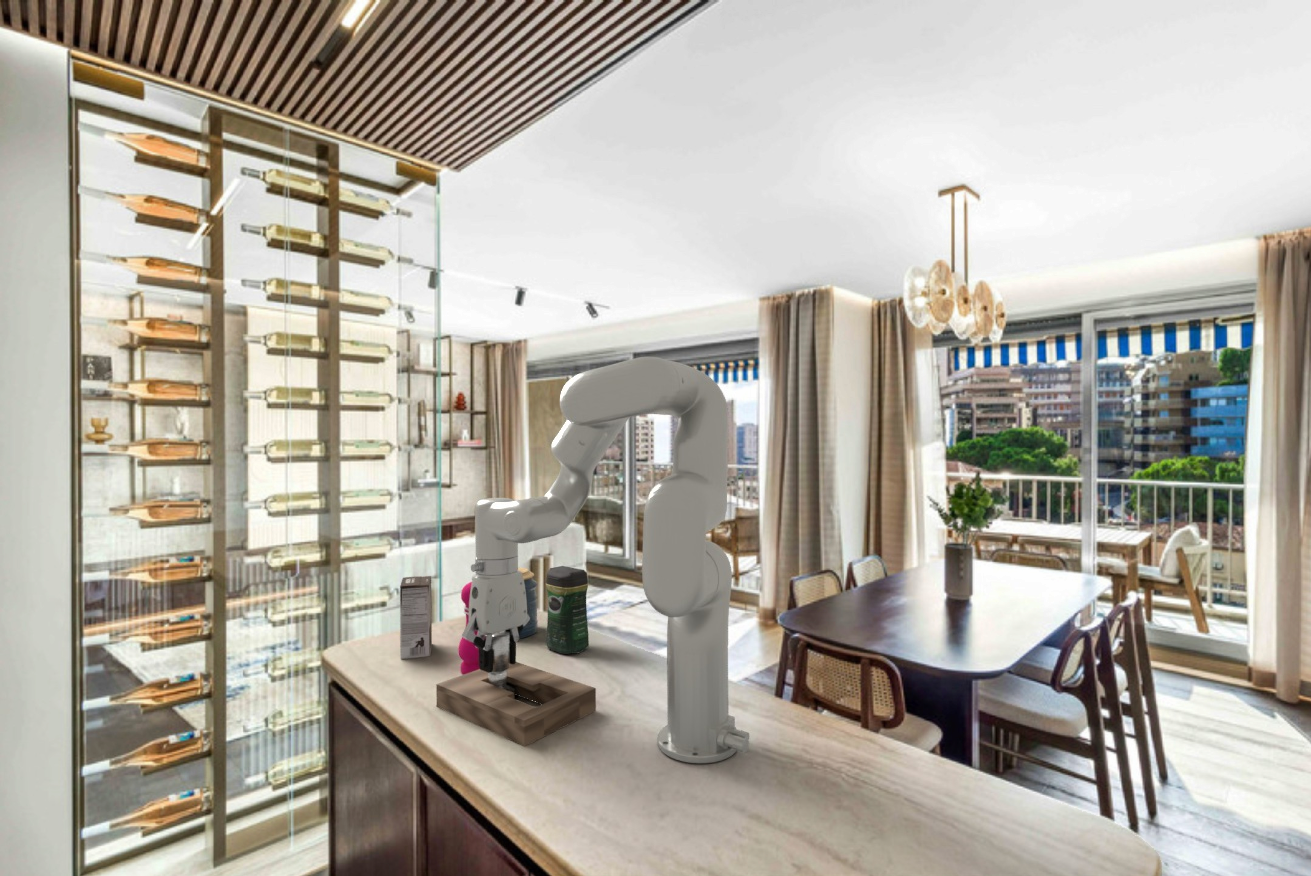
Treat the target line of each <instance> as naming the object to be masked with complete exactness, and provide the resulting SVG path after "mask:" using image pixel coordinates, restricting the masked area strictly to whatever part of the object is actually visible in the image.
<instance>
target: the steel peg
mask: <svg viewBox="0 0 1311 876" xmlns="http://www.w3.org/2000/svg"><path fill="white" fill-rule="evenodd" d="M490 649H491V650H493V671H492V672H490V673H488V678H489V684H492V685H494V686H497V687H499V688H502V689H505V690H507V691H510V692H513V693H514V699H515V700H516V697H515V696H516V695H515V688H514V686H513V685H511V684H507V669H509V668H510V633H509V632H506V631H502V632H498V633H495V634H492V640H491V646H490Z"/></svg>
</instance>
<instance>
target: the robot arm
mask: <svg viewBox="0 0 1311 876" xmlns="http://www.w3.org/2000/svg"><path fill="white" fill-rule="evenodd" d="M559 408H560V411H561V414H562V415H563V417H564V418H565V419H566V421H565V422H564V423H563V426H562V427H561V429H560V430H559V431H558V433H557V435H556V436H555V438H554V439H553V440H552V443H551V445H550V450H551V454H552V456H553V457H554V458H555V459H556V461H557V462H558V463H559V464H560V470H559V472H558V475H557V477H556V479H555V481H554V482H553V484H552V485H551V487H550V488H549V489H548V491H547V492H546V494H545V495H544V496H538V497H537V496H536V497H535V496H534V497H531V498H525V499H518V500H515V499H513V498H509V497H508V498H507V497H489V498H482V499H480V500H478V501H477V503H476V504H475V509H474V510H475V511H474V517H475V519H474V520H475V523H474V524H475V525H474V527H475V531H474V532H475V537H474V538H475V541H474V542H475V543H474V544H475V559H474V560H475V561H474V563H473V564H471V565H470V570H471V572H472V573H474V574H476V575H475V576H473V575H472V576H473V580H472V579H471V582H472V585H471V591H470V600H469V622H468V624H467V626H466V625H465V627H466V628H464V631H463V632H462V634H461V638H462V637H463V638H465V639H466V640H468V641H470V642H471V643H473V644H474V645H475V646H476V648H478V649H479V668H480V670H483V671H485V672H488V673H490V672H492V671H493V650H491V649H490V646H491V640H492V634H495V633H498V632H502V631H506V632H509V633H510V664H515V663H516V662H517V661H516V660H517V642H519V639H520V638H519V634H520V633H521V631H522V630H523V627H524V626H525V625H526V624H527V622H528V621H529V620H530V617H529V615H528V614H527V601H526V591H525V584H524V579H523V575H522V571H520V570H518V567H519V544H528V543H531V542H536V541H538V540H539V541H540V540H541V539H546V538H551V537H555V536H558V535H560V534H561V533H563V532H564V531H565V530H566V529H567V528H568V527H569V526H570V525H571V523H572V522H573V521H574V520H575V519H576V517H577V515H578V514H579V512H580V511H581V509H582V508H583V506H584V505H585V504H586V502H587V499H588V497H589V495H590V491H591V487H592V483H593V479H594V472H595V469H596V467H597V466H598V465H599V463H600V461H601V460H602V458H603V457H604V456H605V454H606V453H607V451H608V450H609V448H610V447H611V445H612V444H613V442H614V441H615V440H616V438H617V436H618V435H619V434H620V432H621V430H623V428H624V426H625V425H626V423H627V422H628V421H629V419H630V418H633V417H637V416H643V415H658V416H660V415H663V416H673V417H675V418H676V419H677V426H676V427H677V428H676V430H675V435H674V439H673V446H672V448H673V449H672V452H673V454H672V455H673V459H672V472H671V474H670V475H667V476H666V477H663V478H661V479H660V480H659V481H657V482H656V483H655V484H654V486H652V487H651V489H650V492H649V493H648V496H647V498H646V501H645V504H644V505H645V506H644V511H643V521H642V522H643V526H642V527H643V528H642V529H643V530H642V531H643V532H642V563H641V564H642V565H641V566H642V567H641V568H642V569H641V574H642V575H641V577H642V578H641V579H642V580H641V581H642V587H643V592H644V594H645V597H646V600H647V601H648V603H649V604H650V606H651V607H652V608H653V609H654V610H655V611H656V612H658V613H659V614H661V615H663V616H665V617H667V624H666V625H667V627H666V631H667V632H666V683H667V684H666V687H667V688H666V691H667V695H666V696H667V697H666V698H667V701H666V702H667V703H666V705H667V707H666V709H667V714H666V715H667V718H666V719H667V724H666V725H664V727H662V729H660V730H659V732H658V734H657V746H658V747H659V750H661V752H662V753H663V754H665V755H666V756H668V757H670V758H672V759H673V760H676V761H680V762H684V763H688V764H710V763H716V762H721V761H724V760H726V759H728V758H730V757H732V756H733V755H734V754H735V753H736V752H740V753H743V754H746V753H747V752H748V750H749V746H750V743H749V742H750V740H749V739H750V732H747V731H744V730H740V729H737V727H736V726H735V725H736V721H735V719H736V717H735V716H732V715H730V714H729V615H730V603H731V602H730V601H731V594H732V582H733V581H732V580H733V579H732V578H733V572H732V565H731V562H730V560H729V557H728V555H727V554H726V552H725V551H724V549H722V547H721V546H719V545H718V544H716V543H715V542H713V541H711V540H708V539H707V533H708V532H711V530H713V529H715V528H717V527H718V526H719V525H720V524H721V523H722V522H723V520H724V519H725V517H726V514H727V509H728V471H729V464H728V463H729V454H728V453H729V452H728V451H729V448H728V446H729V445H728V444H729V441H728V440H729V409H728V408H729V407H728V405H727V400H726V397H725V394H724V392H723V391H722V389H721V387H720V386H719V385H718V383H717V382H716V381H715V380H713V378H711V377H710V376H708V375H707V374H706V373H704V372H702V371H701V370H699V369H697V368H695V367H692V366H690V365H687V364H684V363H682V362H681V363H680V362H677V361H673V360H670V359H665V358H662V357H658V356H641V357H636V358H632V359H628V360H625V361H620V362H616V363H612V364H610V365H605V366H601V367H596V368H592V369H590V370H586V371H582V372H580V373H579V372H578V374H575V375H574V376H572V377H571V378H570V379H569V380H567V382H566V383H565V385H564V386H563V387H562V389H561V392H560V397H559ZM475 631H478V633H477V636H476V635H475V634H474V632H475ZM484 635H485V638H484Z"/></svg>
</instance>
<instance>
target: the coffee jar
mask: <svg viewBox="0 0 1311 876" xmlns="http://www.w3.org/2000/svg"><path fill="white" fill-rule="evenodd" d="M545 578H546V579H545V587H546V591H547V592H546V593H547V620H546V621H547V624H546V626H547V627H546V643H545V645H546V647H547V649H549V650H550V649H551V651H554V652H557V653H558V654H559V653H560V654H564V655H569V654H579V653H582V652H583V651H585V650H586V649H588V648H589V646H590V645H589V642H590V641H589V638H590V637H589V628H588V625H589V624H588V612H587V611H588V610H587V609H588V608H587V593H588V589H589V579H588V572H587V571H586V570H584V569H580V568H575V567H570V566H565V565H561V566H554V567H551V568H549V570H548V571H547V573H546V577H545Z"/></svg>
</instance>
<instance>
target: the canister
mask: <svg viewBox="0 0 1311 876" xmlns="http://www.w3.org/2000/svg"><path fill="white" fill-rule="evenodd" d="M518 570H520V571H522V575H523V579H524V584H525V591H526V601H527V614H528V615H529V617H530V620H529V621H528V622H527V624H526V625H525V626H524V627H523V630H522V631H521V633H520V634H519V639H523V638H527V637H531V636H532V635H534V634H535V633H536V632H537V631H538V630H537V629H538V626H539V620H538V597H539V595H537V592H536V588H537V586H538V581H536V580H534V578H533V577H534V576H535V573H534V572H532V571H531V570H529V569H528V568H525V567H519V566H518Z"/></svg>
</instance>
